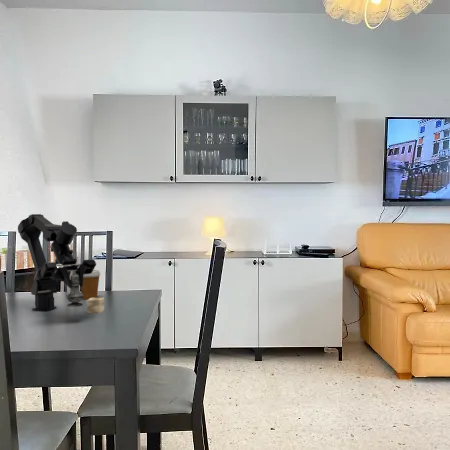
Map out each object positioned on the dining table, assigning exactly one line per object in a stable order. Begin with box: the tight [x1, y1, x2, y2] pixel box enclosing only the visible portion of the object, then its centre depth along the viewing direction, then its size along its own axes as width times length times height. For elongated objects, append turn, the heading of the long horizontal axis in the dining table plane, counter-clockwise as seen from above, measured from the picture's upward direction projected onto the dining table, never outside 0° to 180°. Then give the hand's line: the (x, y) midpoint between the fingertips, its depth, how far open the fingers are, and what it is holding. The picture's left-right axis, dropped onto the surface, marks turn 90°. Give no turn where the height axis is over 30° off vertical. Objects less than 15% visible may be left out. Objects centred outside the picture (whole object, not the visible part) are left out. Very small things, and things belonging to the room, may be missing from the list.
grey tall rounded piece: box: [65, 271, 84, 308], centre depth 162 cm, size 6×6×12 cm
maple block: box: [86, 297, 105, 314], centre depth 178 cm, size 5×5×5 cm
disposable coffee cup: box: [80, 269, 101, 300], centre depth 205 cm, size 10×10×12 cm
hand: (76, 287), depth 161 cm, fingers closed on grey tall rounded piece, 4 cm apart
